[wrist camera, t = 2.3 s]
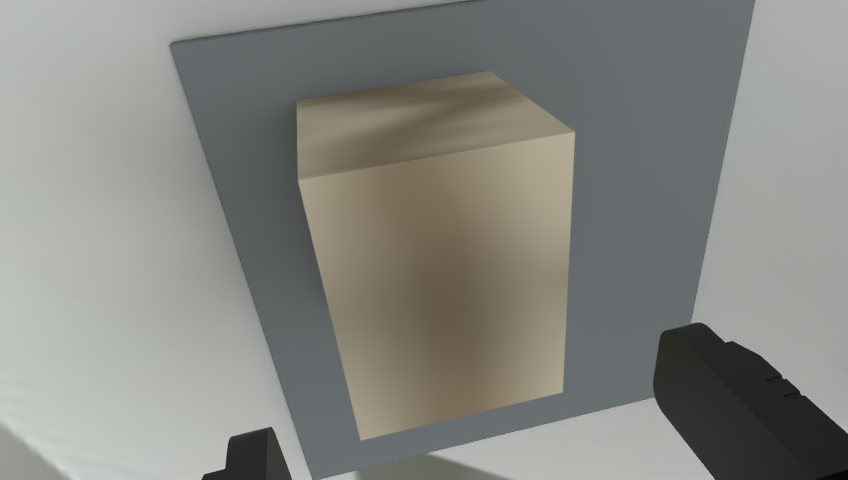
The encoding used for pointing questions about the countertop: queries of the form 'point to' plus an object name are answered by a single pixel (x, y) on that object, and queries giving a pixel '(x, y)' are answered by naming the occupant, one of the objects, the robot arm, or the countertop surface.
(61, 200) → the countertop surface
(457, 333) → the beech block
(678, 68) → the grey mat
